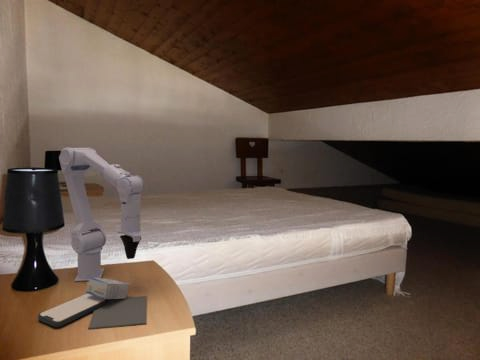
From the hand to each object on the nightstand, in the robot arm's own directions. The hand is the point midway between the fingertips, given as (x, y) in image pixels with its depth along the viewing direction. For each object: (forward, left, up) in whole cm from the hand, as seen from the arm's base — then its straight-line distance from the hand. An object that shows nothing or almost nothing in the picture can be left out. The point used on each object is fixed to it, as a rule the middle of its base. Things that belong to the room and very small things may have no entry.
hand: (130, 258), depth 111 cm
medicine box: (+4, -3, -8) cm, 9 cm away
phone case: (+12, -14, -10) cm, 21 cm away
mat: (+14, -2, -10) cm, 18 cm away
